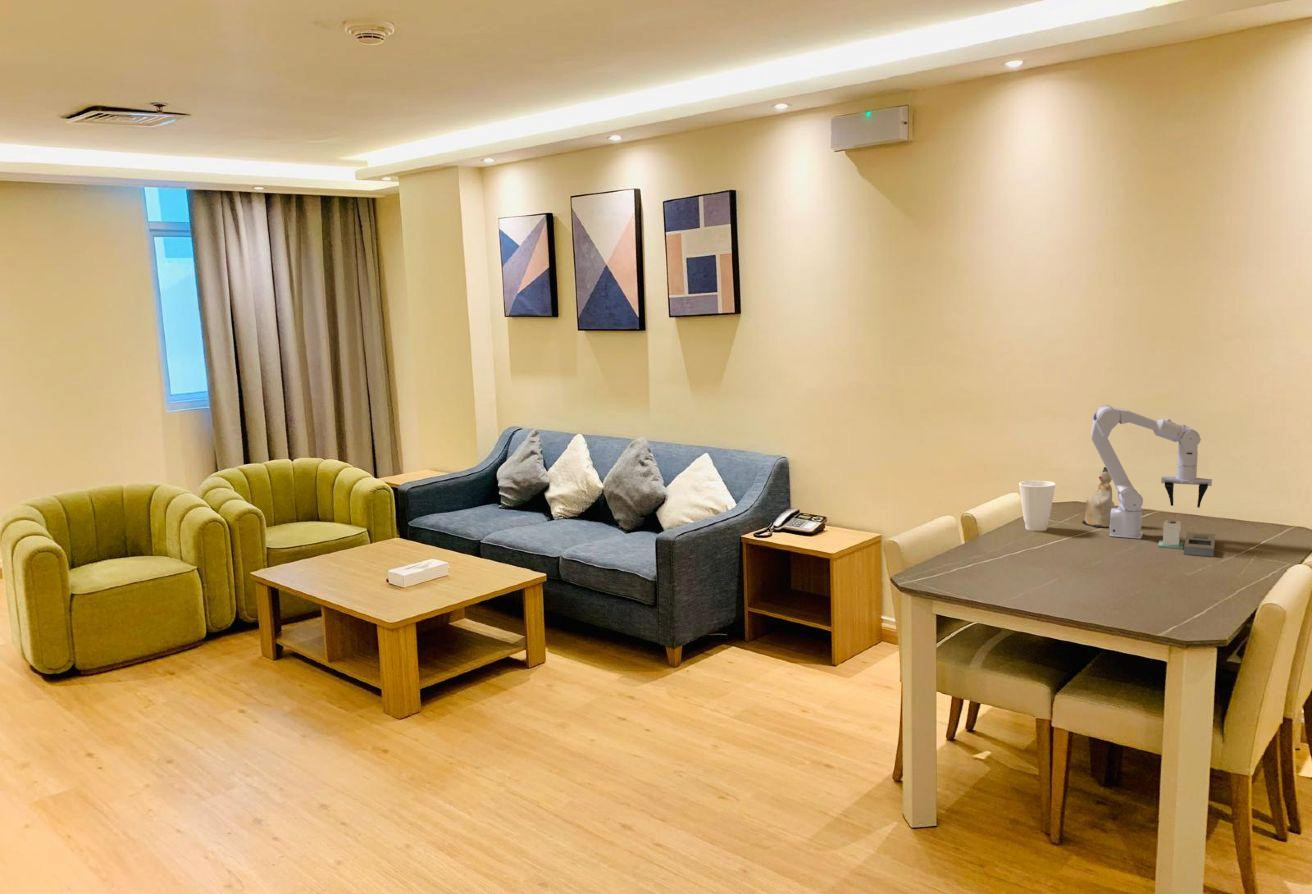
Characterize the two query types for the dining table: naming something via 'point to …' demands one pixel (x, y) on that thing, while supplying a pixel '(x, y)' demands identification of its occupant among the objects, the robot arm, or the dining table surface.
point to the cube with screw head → (1171, 533)
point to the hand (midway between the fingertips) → (1185, 506)
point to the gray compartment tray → (1199, 544)
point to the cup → (1036, 503)
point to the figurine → (1100, 503)
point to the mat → (1171, 545)
